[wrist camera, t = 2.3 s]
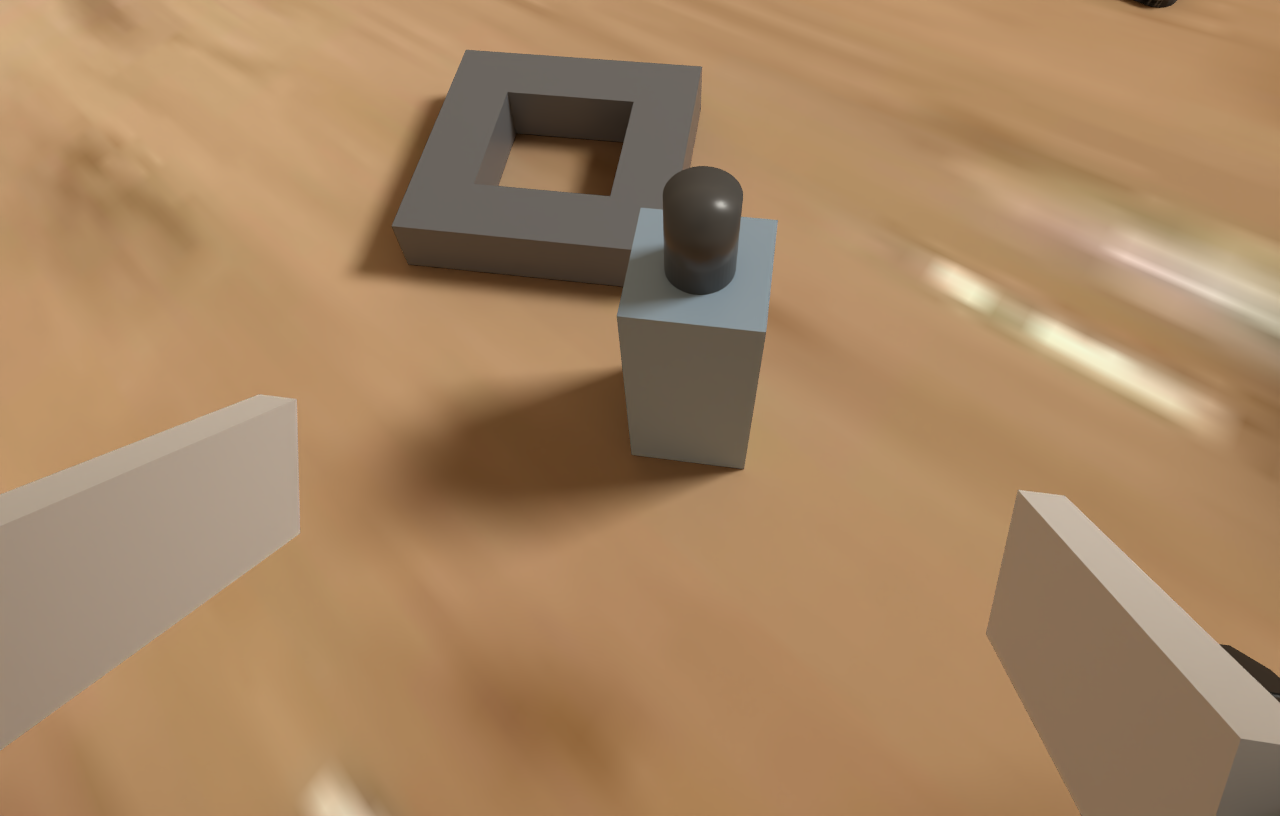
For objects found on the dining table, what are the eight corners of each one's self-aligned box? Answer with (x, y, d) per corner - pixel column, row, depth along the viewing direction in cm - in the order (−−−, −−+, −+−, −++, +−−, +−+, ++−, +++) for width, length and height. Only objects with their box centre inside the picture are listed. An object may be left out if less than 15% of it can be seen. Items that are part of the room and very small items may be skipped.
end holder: (700, 108, 42) (702, 66, 39) (666, 291, 36) (666, 253, 33) (476, 91, 43) (465, 49, 41) (408, 264, 37) (391, 225, 35)
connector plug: (754, 374, 33) (789, 145, 23) (743, 469, 31) (776, 264, 21) (649, 361, 34) (636, 133, 23) (631, 454, 32) (609, 247, 21)
